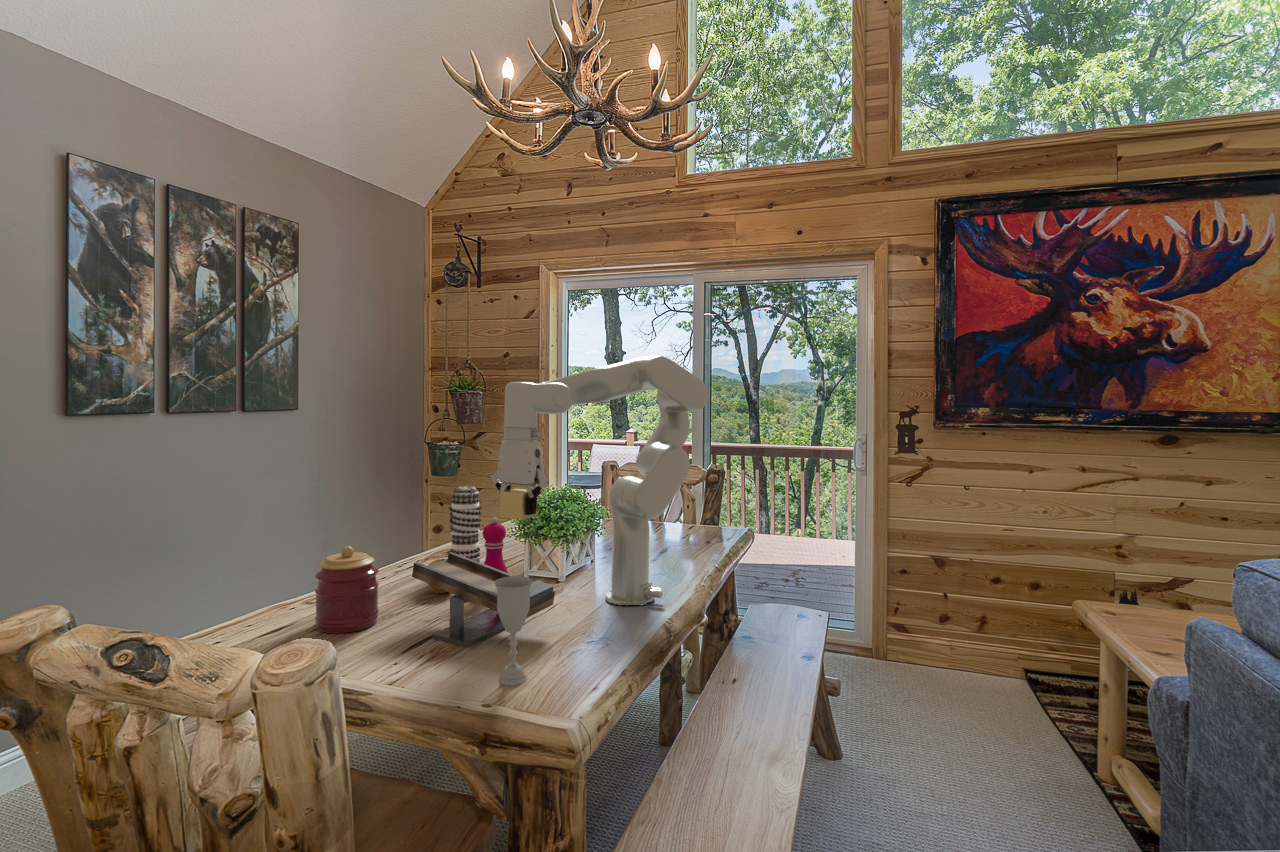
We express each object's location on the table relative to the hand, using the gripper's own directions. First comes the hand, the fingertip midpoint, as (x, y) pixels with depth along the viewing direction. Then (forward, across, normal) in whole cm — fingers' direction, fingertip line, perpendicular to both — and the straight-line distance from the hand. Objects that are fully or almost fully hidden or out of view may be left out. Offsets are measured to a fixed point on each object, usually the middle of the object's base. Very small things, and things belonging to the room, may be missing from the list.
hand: (518, 512), depth 148 cm
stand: (+25, +3, +9) cm, 27 cm away
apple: (+25, +29, -8) cm, 39 cm away
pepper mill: (+25, +17, -13) cm, 33 cm away
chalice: (+25, -19, +27) cm, 42 cm away
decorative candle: (+25, +36, -26) cm, 51 cm away
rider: (+1, 0, 0) cm, 1 cm away
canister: (+26, +31, +20) cm, 45 cm away
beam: (+17, +3, +9) cm, 19 cm away
